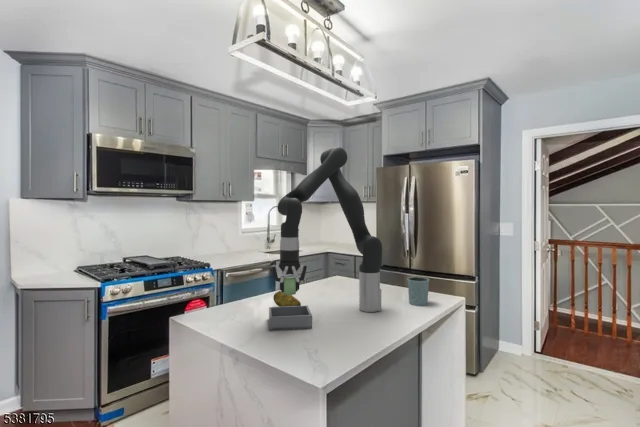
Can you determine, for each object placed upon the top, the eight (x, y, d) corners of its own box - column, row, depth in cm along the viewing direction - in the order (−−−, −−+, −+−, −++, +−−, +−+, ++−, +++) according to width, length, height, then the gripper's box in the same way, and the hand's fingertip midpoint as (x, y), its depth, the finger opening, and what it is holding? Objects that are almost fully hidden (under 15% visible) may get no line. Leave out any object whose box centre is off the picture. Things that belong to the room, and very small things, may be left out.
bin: (307, 317, 151) (307, 305, 151) (312, 328, 137) (312, 315, 137) (269, 319, 148) (268, 307, 148) (269, 330, 135) (269, 317, 135)
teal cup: (427, 301, 177) (427, 276, 177) (431, 306, 167) (431, 281, 167) (405, 300, 178) (406, 276, 178) (408, 306, 168) (409, 280, 168)
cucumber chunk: (295, 291, 145) (295, 277, 145) (296, 294, 141) (296, 279, 140) (282, 292, 145) (282, 277, 145) (283, 295, 140) (283, 279, 140)
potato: (288, 314, 155) (288, 296, 155) (270, 308, 164) (270, 291, 164) (303, 310, 161) (303, 292, 161) (284, 305, 170) (284, 288, 170)
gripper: (306, 247, 147) (306, 288, 147) (271, 247, 145) (271, 289, 145) (308, 249, 140) (308, 293, 140) (271, 249, 138) (271, 294, 138)
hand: (289, 291), depth 143 cm, fingers closed on cucumber chunk, 5 cm apart
